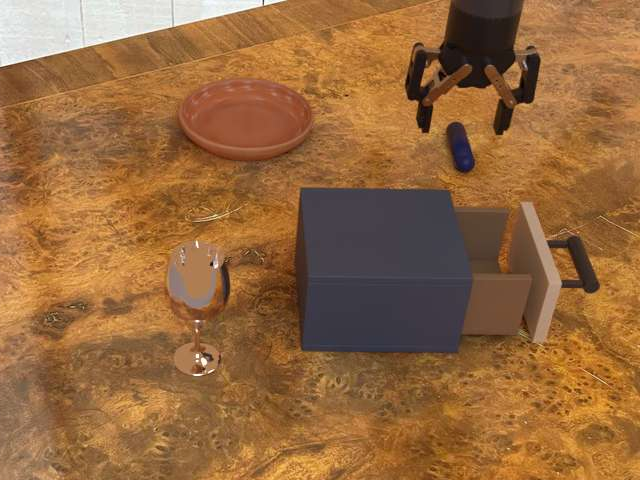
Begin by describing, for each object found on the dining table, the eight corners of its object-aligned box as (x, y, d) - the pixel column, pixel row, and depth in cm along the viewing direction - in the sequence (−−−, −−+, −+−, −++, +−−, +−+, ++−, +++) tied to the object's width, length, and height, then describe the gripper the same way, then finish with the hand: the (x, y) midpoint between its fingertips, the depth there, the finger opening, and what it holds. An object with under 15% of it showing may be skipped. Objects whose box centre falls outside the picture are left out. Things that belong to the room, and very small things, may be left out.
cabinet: (435, 261, 110) (449, 189, 104) (457, 353, 100) (473, 278, 94) (294, 259, 110) (300, 186, 104) (301, 351, 99) (308, 276, 93)
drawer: (563, 260, 109) (580, 202, 104) (595, 343, 100) (615, 284, 95) (386, 257, 109) (395, 199, 104) (401, 341, 99) (411, 281, 95)
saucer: (324, 165, 123) (326, 143, 121) (186, 173, 121) (185, 151, 119) (299, 95, 135) (300, 74, 133) (173, 101, 133) (172, 80, 131)
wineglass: (187, 329, 101) (186, 229, 93) (239, 351, 99) (243, 250, 91) (153, 366, 97) (150, 264, 89) (207, 389, 95) (208, 287, 87)
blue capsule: (443, 133, 129) (446, 117, 127) (461, 133, 129) (464, 118, 127) (455, 176, 122) (458, 159, 120) (474, 176, 122) (478, 160, 121)
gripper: (425, 13, 110) (403, 147, 120) (562, 17, 110) (529, 150, 121) (415, -19, 115) (395, 112, 126) (546, -15, 116) (515, 115, 126)
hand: (461, 130), depth 123 cm, fingers open, 8 cm apart
